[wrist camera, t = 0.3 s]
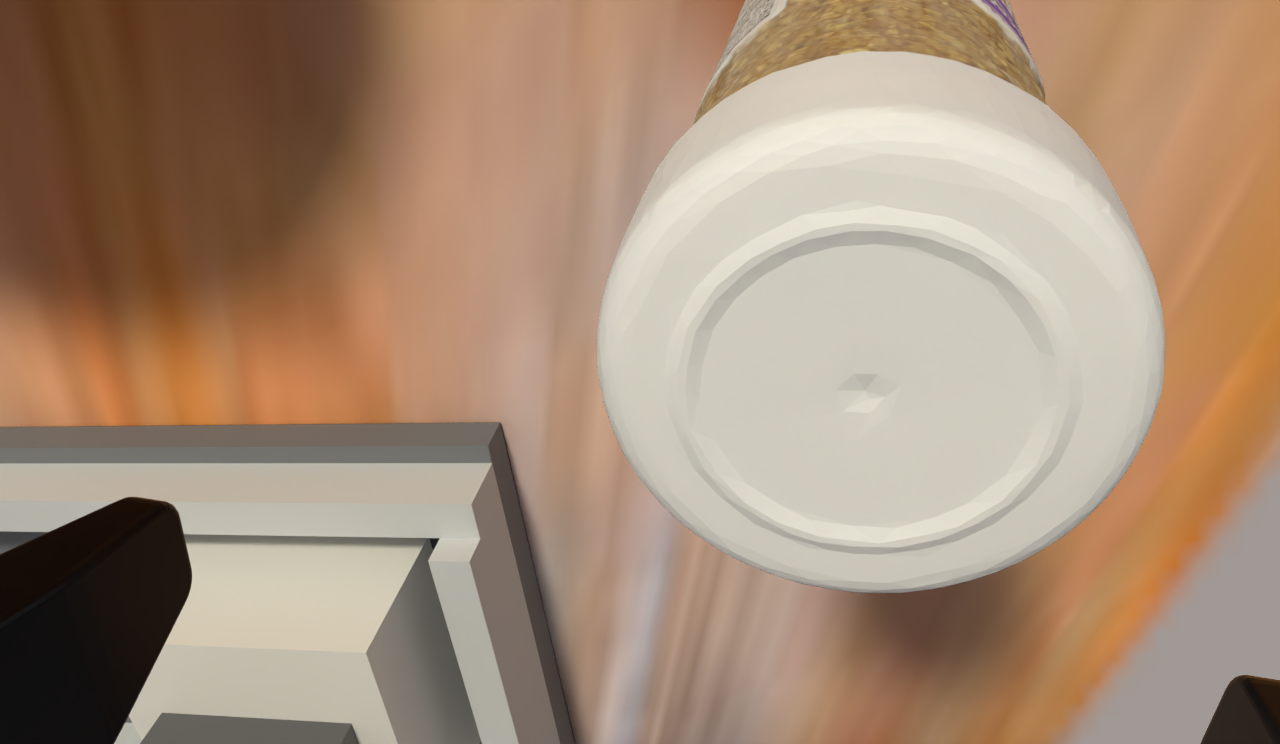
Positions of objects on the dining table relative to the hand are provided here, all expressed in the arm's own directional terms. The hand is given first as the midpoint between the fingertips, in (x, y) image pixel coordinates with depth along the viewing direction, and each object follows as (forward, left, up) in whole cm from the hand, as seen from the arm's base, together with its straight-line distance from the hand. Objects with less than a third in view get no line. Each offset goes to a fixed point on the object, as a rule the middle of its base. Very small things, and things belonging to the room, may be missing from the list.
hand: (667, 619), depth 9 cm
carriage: (-13, +13, -13) cm, 22 cm away
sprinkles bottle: (+2, -2, -14) cm, 15 cm away
